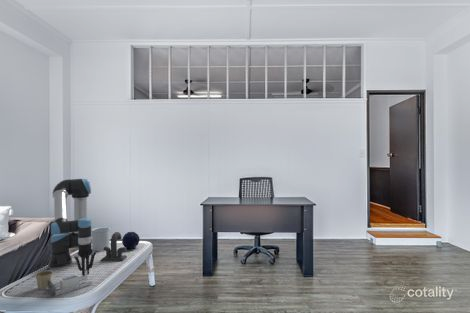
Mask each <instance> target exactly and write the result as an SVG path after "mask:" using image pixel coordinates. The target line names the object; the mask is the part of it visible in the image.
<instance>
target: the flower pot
mask: <svg viewBox="0 0 470 313" xmlns="http://www.w3.org/2000/svg"><path fill="white" fill-rule="evenodd" d="M53 273H54V271H53V270H44V271H39V272H37V273H35V275H34V277H35V279H36V284H37V289H38V290H41V291H42V290H46V289H48V281H49V280H50V281H51V282H52V277H53V276H52V275H53Z"/></svg>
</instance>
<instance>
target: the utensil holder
mask: <svg viewBox="0 0 470 313" xmlns="http://www.w3.org/2000/svg"><path fill="white" fill-rule="evenodd" d="M110 230H111V228H110V227H105V226H103V227H101V226H100V227H96V228H93V229H92V228H91V243H92V251H93V252H103V250H104V247H109V248H110V246H111V237H110V236H111V235H110V232H111V231H110Z"/></svg>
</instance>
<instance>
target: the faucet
mask: <svg viewBox="0 0 470 313" xmlns="http://www.w3.org/2000/svg"><path fill="white" fill-rule="evenodd" d="M122 238H123V237H122V235H121V233H120V232H118V231H115V232H114V233H113V234H112V235H111V237H110V246H109V247H104V251H105V253H106V255H105V256H104V257H103V258H101V259H100V262H123V261H124V260H126V259H127V258H128V256H127V255H126V254H124V255H123V253H122V252H126V251H127V248H126V247H124V246H121V247H119V248H118V246H117V244H118V241H120V240H121V241H122Z"/></svg>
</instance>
